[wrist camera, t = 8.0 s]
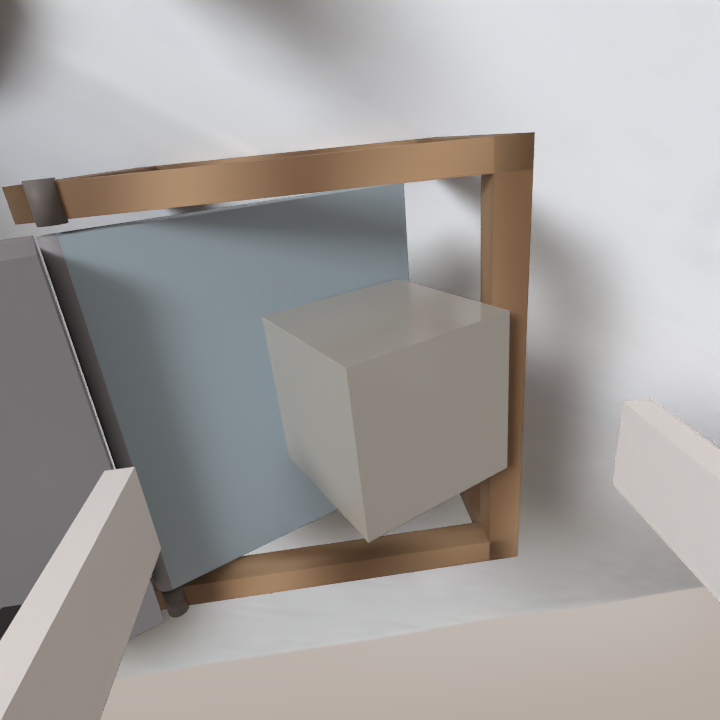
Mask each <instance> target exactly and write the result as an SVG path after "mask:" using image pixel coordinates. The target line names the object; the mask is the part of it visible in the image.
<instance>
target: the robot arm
mask: <svg viewBox="0 0 720 720" xmlns="http://www.w3.org/2000/svg"><path fill="white" fill-rule="evenodd" d="M612 484H613V485H614V486H615V487H616V488H617V490H618V491H619V492H620V493H621V494H622V495H623V496H624V497H625V498H626V500H627V501H628V502H629V503H630V504H631V505H632V506H633V507H634V508H635V510H636V511H637V512H638V513H639V514H640V515H641V516H642V517H643V518H644V519H645V521H646V522H647V523H648V524H649V525H650V526H651V527H652V528H653V529H654V531H655V532H656V533H657V534H658V535H659V536H660V537H661V538H662V539H663V541H664V542H665V543H666V544H667V545H668V546H669V547H670V548H671V549H672V551H673V552H674V553H675V554H676V555H677V556H678V557H679V558H680V559H681V560H682V562H683V563H684V564H685V565H686V566H687V567H688V568H689V569H690V570H691V572H692V573H693V574H694V575H695V576H696V577H697V578H698V579H699V580H700V582H701V583H702V584H703V585H704V586H705V587H706V588H707V589H708V590H709V591H710V593H711V594H712V595H713V596H714V597H715V598H716V599H717V600H718V601H719V602H720V449H719V448H717V447H716V446H715V445H713V444H712V443H710V442H709V441H708V440H706V439H705V438H704V437H702V436H701V435H700V434H698V433H697V432H696V431H694V430H693V429H692V428H690V427H689V426H687V425H686V424H685V423H683V422H682V421H681V420H679V419H678V418H677V417H675V416H674V415H673V414H671V413H670V412H668V411H667V410H666V409H664V408H663V407H662V406H660V405H659V404H658V403H656V402H655V401H654V400H652V399H651V398H646V399H638V400H631V401H623V406H622V414H621V421H620V429H619V437H618V445H617V452H616V460H615V468H614V476H613V483H612ZM160 550H161V546H160V543H159V540H158V537H157V534H156V531H155V528H154V525H153V522H152V518H151V515H150V512H149V509H148V506H147V503H146V500H145V497H144V494H143V491H142V488H141V485H140V482H139V479H138V476H137V472H136V469H135V467H129V468H122V469H115V470H107V471H104V473H103V474H102V476H101V477H100V479H99V481H98V482H97V484H96V486H95V487H94V489H93V490H92V492H91V494H90V495H89V497H88V499H87V500H86V502H85V503H84V505H83V507H82V508H81V510H80V512H79V513H78V515H77V517H76V518H75V520H74V521H73V523H72V525H71V526H70V528H69V530H68V531H67V533H66V534H65V536H64V538H63V539H62V541H61V543H60V544H59V546H58V547H57V549H56V551H55V552H54V554H53V556H52V557H51V559H50V560H49V562H48V564H47V565H46V567H45V569H44V570H43V572H42V574H41V575H40V577H39V578H38V580H37V582H36V583H35V585H34V587H33V588H32V590H31V591H30V593H29V595H28V596H27V598H26V600H25V601H24V603H23V604H21V605H14V606H7V607H2V608H1V609H0V720H100V719H101V716H102V713H103V710H104V707H105V704H106V702H107V698H108V696H109V693H110V690H111V688H112V685H113V682H114V679H115V676H116V674H117V671H118V668H119V665H120V662H121V660H122V657H123V654H124V651H125V648H126V646H127V643H128V640H129V637H130V634H131V632H132V629H133V626H134V623H135V620H136V618H137V615H138V612H139V609H140V606H141V604H142V601H143V598H144V595H145V592H146V589H147V587H148V584H149V581H150V578H151V575H152V573H153V570H154V567H155V564H156V561H157V559H158V556H159V553H160Z"/></svg>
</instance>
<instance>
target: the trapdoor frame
mask: <svg viewBox="0 0 720 720" xmlns="http://www.w3.org/2000/svg"><path fill="white" fill-rule="evenodd" d="M534 135H535V132H532V133H512V134H492V135H471V136H451V137H434V138H424V139H414V140H405V141H395V142H385V143H375V144H366V145H356V146H346V147H336V148H327V149H317V150H307V151H297V152H288V153H278V154H268V155H258V156H249V157H239V158H229V159H219V160H210V161H200V162H190V163H181V164H171V165H161V166H151V167H142V168H133V169H126V170H119V171H112V172H105V173H98V174H91V175H84V176H78V177H71V178H64V179H57V180H55V178H48V179H38V180H29V181H22V185H15V186H8V187H2V188H3V191H4V194H5V197H6V200H7V202H8V205H9V208H10V211H11V214H12V216H13V219H14V222H15V225H16V224H25V223H35V222H36V225H37V227H45V226H53V225H59V224H64V223H68V219H72V218H81V217H91V216H100V215H109V214H119V213H128V212H137V211H147V210H156V209H165V208H175V207H184V206H193V205H203V204H212V203H221V202H231V201H240V200H249V199H259V198H268V197H277V196H287V195H296V194H305V193H314V192H324V191H333V190H342V189H352V188H361V187H370V186H380V185H389V184H398V183H408V182H417V181H426V180H436V179H445V178H454V177H464V176H473V175H481V302H482V303H485V304H489V305H492V306H496V307H499V308H503V309H506V310H510V327H509V388H508V449H507V468H505V469H504V470H502V471H500V472H498V473H496V474H494V475H493V476H491V477H489V478H487V479H485V480H483V481H481V482H480V483H478V484H476V485H474V486H472V487H470V488H469V489H467V490H465V491H463V492H461V493H460V495H461V497H462V500H463V502H464V504H465V506H466V509H467V511H468V513H469V516H470V518H471V520H472V522H473V523H469V524H462V525H456V526H449V527H442V528H435V529H428V530H421V531H414V532H407V533H400V534H393V535H386V536H380V537H378V538H376V539H374V540H373V541H371V542H369V543H368V542H367V541H366V540H365V539H359V540H352V541H345V542H338V543H331V544H324V545H317V546H310V547H303V548H296V549H290V550H283V551H276V552H269V553H262V554H255V555H248V556H241V557H238V558H236V559H234V560H232V561H230V562H228V563H226V564H224V565H222V566H220V567H218V568H216V569H214V570H212V571H210V572H208V573H206V574H204V575H202V576H199V577H197V578H195V579H193V580H191V581H189V582H187V583H185V584H183V585H181V586H179V587H177V588H175V589H173V590H170V591H166V592H163V591H160V590H158V589H157V586H156V583H155V581H154V578H153V576H152V579H151V581H152V584H153V587H154V590H155V593H156V596H157V599H158V602H159V605H160V609H167V610H168V613H169V615H170V616H172V617H179V616H181V615H183V614H184V613H186V612H187V610H188V608H189V605H194V604H201V603H207V602H214V601H221V600H227V599H234V598H241V597H248V596H254V595H261V594H268V593H274V592H281V591H288V590H295V589H301V588H308V587H315V586H321V585H328V584H335V583H342V582H348V581H355V580H362V579H368V578H375V577H382V576H389V575H395V574H402V573H409V572H415V571H422V570H429V569H436V568H442V567H449V566H456V565H462V564H469V563H476V562H483V561H489V560H496V559H503V558H509V557H516V556H517V555H518V531H519V506H520V481H521V456H522V432H523V407H524V382H525V358H526V333H527V308H528V284H529V259H530V234H531V209H532V185H533V160H534Z"/></svg>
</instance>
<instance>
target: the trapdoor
mask: <svg viewBox="0 0 720 720" xmlns="http://www.w3.org/2000/svg"><path fill="white" fill-rule="evenodd" d="M37 241H38V244H39V247H40V249H41V252H42V255H43V258H44V261H45V264H46V267H47V270H48V273H49V276H50V278H51V281H52V284H53V287H54V290H55V293H56V296H57V299H58V302H59V305H60V308H61V310H62V313H63V316H64V319H65V322H66V325H67V328H68V331H69V334H70V337H71V339H72V342H73V345H74V348H75V351H76V354H77V357H78V360H79V363H80V366H81V369H82V371H83V374H84V377H85V380H86V383H87V386H88V389H89V392H90V395H91V398H92V400H93V403H94V406H95V409H96V412H97V415H98V418H99V421H100V424H101V427H102V430H103V432H104V435H105V438H106V441H107V444H108V447H109V450H110V453H111V456H112V459H113V461H114V464H115V467H116V469H122V468H129V467H135V469H136V472H137V476H138V479H139V482H140V485H141V488H142V491H143V494H144V497H145V500H146V503H147V506H148V509H149V512H150V515H151V518H152V522H153V525H154V528H155V531H156V534H157V537H158V540H159V543H160V546H161V550H160V553H159V556H158V559H157V561H156V564H155V567H154V570H153V573H152V575H153V578H154V581H155V583H156V586H157V589H158V590H160V591H163V592H166V591H170V590H173V589H175V588H177V587H179V586H181V585H183V584H185V583H187V582H189V581H191V580H193V579H195V578H197V577H199V576H202V575H204V574H206V573H208V572H210V571H212V570H214V569H216V568H218V567H220V566H222V565H224V564H226V563H228V562H230V561H232V560H234V559H236V558H238V557H240V556H243V555H245V554H247V553H249V552H251V551H253V550H255V549H257V548H259V547H261V546H263V545H265V544H267V543H269V542H271V541H273V540H275V539H277V538H279V537H282V536H284V535H286V534H288V533H290V532H292V531H294V530H296V529H298V528H300V527H302V526H304V525H306V524H308V523H310V522H312V521H314V520H316V519H318V518H320V517H323V516H325V515H327V514H329V513H331V512H333V511H335V510H337V508H336V507H335V506H334V505H333V504H332V503H331V502H330V501H329V499H328V498H327V497H326V496H325V495H324V494H323V493H322V492H321V491H320V490H319V489H318V487H317V486H316V485H315V484H314V483H313V482H312V481H311V480H310V479H309V478H308V477H307V476H306V474H305V473H304V472H303V471H302V470H301V469H300V468H299V467H298V466H297V465H296V464H295V462H294V461H293V460H292V459H291V458H290V457H289V455H288V450H287V445H286V439H285V434H284V429H283V424H282V419H281V413H280V408H279V403H278V398H277V393H276V388H275V382H274V377H273V372H272V367H271V362H270V356H269V351H268V346H267V341H266V336H265V331H264V325H263V320H262V316H264V315H268V314H271V313H275V312H279V311H282V310H286V309H289V308H293V307H297V306H300V305H304V304H308V303H311V302H315V301H319V300H322V299H326V298H329V297H333V296H337V295H340V294H344V293H348V292H351V291H355V290H359V289H362V288H366V287H369V286H373V285H377V284H380V283H384V282H388V281H391V280H395V279H402V280H405V281H409V270H408V252H407V234H406V216H405V198H404V183H398V184H389V185H380V186H370V187H361V188H352V189H342V190H334V191H327V192H321V193H314V194H308V195H301V196H295V197H288V198H282V199H275V200H269V201H262V202H256V203H249V204H243V205H236V206H230V207H223V208H217V209H210V210H204V211H197V212H191V213H184V214H178V215H171V216H165V217H158V218H152V219H145V220H139V221H132V222H126V223H119V224H113V225H106V226H100V227H93V228H87V229H80V230H74V231H67V232H61V233H54V234H48V235H44V236H40V237H37ZM107 470H114V468H113V465H112V462H111V459H110V456H109V454H108V451H107V448H106V445H105V442H104V439H103V436H102V433H101V431H100V428H99V425H98V422H97V419H96V416H95V413H94V410H93V407H92V405H91V402H90V399H89V396H88V393H87V390H86V387H85V384H84V381H83V379H82V376H81V373H80V370H79V367H78V364H77V361H76V358H75V355H74V353H73V350H72V347H71V344H70V341H69V338H68V335H67V332H66V329H65V327H64V324H63V321H62V318H61V315H60V312H59V309H58V306H57V303H56V301H55V298H54V295H53V292H52V289H51V286H50V283H49V280H48V277H47V275H46V272H45V269H44V266H43V263H42V260H41V257H40V254H39V252H38V249H37V246H36V243H35V240H34V237H33V235H32V236H26V237H19V238H12V239H6V240H0V609H1V608H2V607H7V606H14V605H21V604H23V603H24V601H25V600H26V598H27V596H28V595H29V593H30V591H31V590H32V588H33V587H34V585H35V583H36V582H37V580H38V578H39V577H40V575H41V574H42V572H43V570H44V569H45V567H46V565H47V564H48V562H49V560H50V559H51V557H52V556H53V554H54V552H55V551H56V549H57V547H58V546H59V544H60V543H61V541H62V539H63V538H64V536H65V534H66V533H67V531H68V530H69V528H70V526H71V525H72V523H73V521H74V520H75V518H76V517H77V515H78V513H79V512H80V510H81V508H82V507H83V505H84V503H85V502H86V500H87V499H88V497H89V495H90V494H91V492H92V490H93V489H94V487H95V486H96V484H97V482H98V481H99V479H100V477H101V476H102V474H103V473H104V471H107ZM162 622H164V618H163V615H162V612H161V609H160V605H159V602H158V599H157V596H156V593H155V590H154V587H153V584H152V581H151V578H150V581H149V584H148V587H147V589H146V592H145V595H144V598H143V601H142V604H141V606H140V609H139V612H138V615H137V618H136V620H135V623H134V626H133V629H132V632H131V634H130V637H129V639H131V638H133V637H135V636H137V635H139V634H141V633H143V632H145V631H147V630H149V629H151V628H153V627H155V626H157V625H159V624H160V623H162Z"/></svg>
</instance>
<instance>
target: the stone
mask: <svg viewBox="0 0 720 720" xmlns="http://www.w3.org/2000/svg"><path fill="white" fill-rule="evenodd" d="M262 320H263V325H264V331H265V336H266V341H267V346H268V351H269V356H270V362H271V367H272V372H273V377H274V382H275V388H276V393H277V398H278V403H279V408H280V413H281V419H282V424H283V429H284V434H285V439H286V445H287V450H288V455H289V457H290V458H291V459H292V460H293V461H294V462H295V464H296V465H297V466H298V467H299V468H300V469H301V470H302V471H303V472H304V473H305V474H306V476H307V477H308V478H309V479H310V480H311V481H312V482H313V483H314V484H315V485H316V486H317V487H318V489H319V490H320V491H321V492H322V493H323V494H324V495H325V496H326V497H327V498H328V499H329V501H330V502H331V503H332V504H333V505H334V506H335V507H336V508H337V509H338V510H339V511H340V513H341V514H342V515H343V516H344V517H345V518H346V519H347V520H348V521H349V522H350V523H351V525H352V526H353V527H354V528H355V529H356V530H357V531H358V532H359V533H360V534H361V535H362V537H363V538H364V539H365V540H366V541H367V542H368V543H369V542H371V541H373V540H374V539H376V538H378V537H380V536H382V535H384V534H386V533H387V532H389V531H391V530H393V529H395V528H397V527H398V526H400V525H402V524H404V523H406V522H408V521H410V520H411V519H413V518H415V517H417V516H419V515H421V514H422V513H424V512H426V511H428V510H430V509H432V508H433V507H435V506H437V505H439V504H441V503H443V502H445V501H446V500H448V499H450V498H452V497H454V496H456V495H457V494H459V493H461V492H463V491H465V490H467V489H469V488H470V487H472V486H474V485H476V484H478V483H480V482H481V481H483V480H485V479H487V478H489V477H491V476H493V475H494V474H496V473H498V472H500V471H502V470H504V469H505V468H507V449H508V388H509V327H510V310H506V309H503V308H499V307H496V306H492V305H489V304H485V303H482V302H478V301H475V300H471V299H468V298H464V297H461V296H457V295H454V294H450V293H447V292H443V291H440V290H437V289H433V288H430V287H426V286H423V285H419V284H416V283H412V282H409V281H405V280H402V279H395V280H391V281H388V282H384V283H380V284H377V285H373V286H369V287H366V288H362V289H359V290H355V291H351V292H348V293H344V294H340V295H337V296H333V297H329V298H326V299H322V300H319V301H315V302H311V303H308V304H304V305H300V306H297V307H293V308H289V309H286V310H282V311H279V312H275V313H271V314H268V315H264V316H262Z"/></svg>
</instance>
